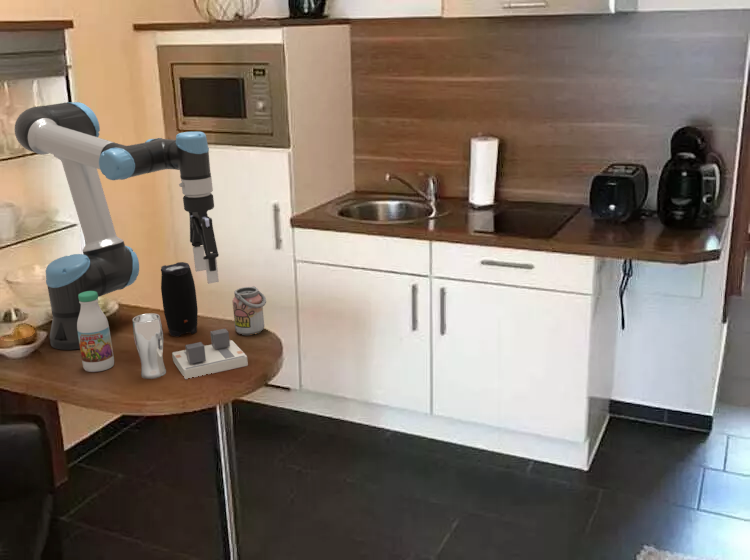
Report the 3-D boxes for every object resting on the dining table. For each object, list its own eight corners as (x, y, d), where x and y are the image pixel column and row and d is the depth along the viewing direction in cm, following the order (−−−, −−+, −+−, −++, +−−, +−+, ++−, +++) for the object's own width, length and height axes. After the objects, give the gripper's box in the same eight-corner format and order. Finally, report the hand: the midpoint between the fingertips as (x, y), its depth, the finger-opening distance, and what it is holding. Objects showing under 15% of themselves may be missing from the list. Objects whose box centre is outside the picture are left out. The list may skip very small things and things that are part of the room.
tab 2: (211, 345, 216) (210, 331, 215) (226, 342, 218) (225, 328, 217) (215, 349, 214) (213, 335, 213) (230, 346, 215) (228, 331, 214)
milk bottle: (82, 364, 216) (71, 291, 210) (113, 358, 219) (102, 286, 213) (84, 375, 209) (71, 300, 203) (115, 369, 212) (104, 295, 206)
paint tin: (273, 328, 235) (270, 287, 231) (256, 338, 228) (252, 297, 224) (247, 324, 239) (243, 284, 236) (229, 334, 232) (225, 293, 228)
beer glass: (139, 381, 204) (131, 324, 199) (139, 370, 210) (131, 315, 206) (168, 377, 206) (161, 320, 201) (167, 366, 212) (160, 311, 207)
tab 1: (187, 359, 208) (185, 345, 207) (202, 356, 210) (201, 341, 208) (190, 364, 205) (188, 349, 204) (205, 360, 207) (204, 345, 206)
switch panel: (173, 361, 215) (171, 352, 214) (232, 348, 221) (232, 339, 221) (185, 379, 204) (184, 369, 203) (247, 365, 210) (247, 356, 209)
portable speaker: (198, 336, 232) (190, 269, 226) (164, 338, 231) (155, 271, 225) (201, 325, 240) (194, 260, 234) (169, 327, 239) (160, 262, 233)
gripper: (172, 188, 218) (181, 267, 225) (194, 204, 198) (204, 291, 204) (200, 185, 221) (208, 263, 228) (225, 200, 201) (234, 285, 207)
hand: (206, 276), depth 216 cm, fingers open, 12 cm apart
